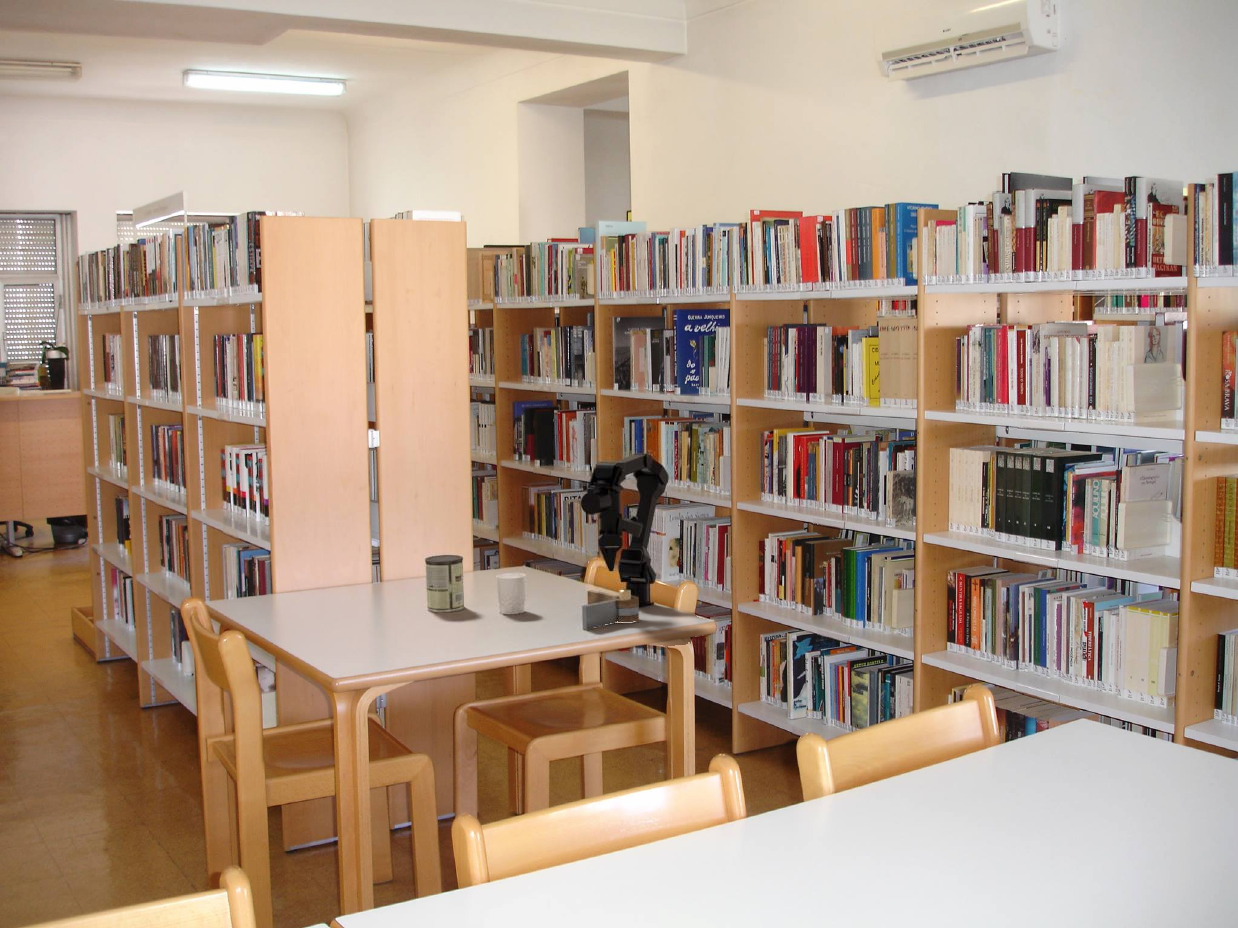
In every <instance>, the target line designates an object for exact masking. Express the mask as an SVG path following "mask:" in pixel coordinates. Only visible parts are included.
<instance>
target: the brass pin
mask: <svg viewBox="0 0 1238 928" xmlns="http://www.w3.org/2000/svg"><path fill="white" fill-rule="evenodd" d="M618 596H619V599H620V600H629V599H631V590H629V589H626V588H624V589H619V590H618Z"/></svg>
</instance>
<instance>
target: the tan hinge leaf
mask: <svg viewBox="0 0 1238 928" xmlns="http://www.w3.org/2000/svg"><path fill="white" fill-rule="evenodd" d="M586 595H587V605H589V604H593V603H598V602H603V601H608V600H617V608H632V607H637V606H638V605H639V597H638V596H633V595H631V599H629V600H620V599H619V594H618V595H617V594H613V593H608V592H601V591H597V590H593V589H591V590H587V594H586ZM639 620H640V612H639V613H638V614H636V615H631V616H617V621H618V622H633V621H639Z"/></svg>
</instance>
